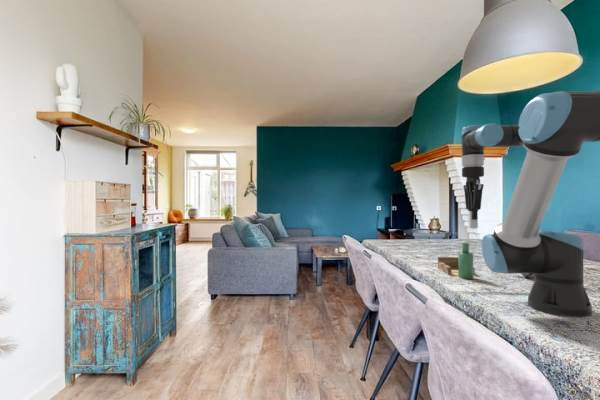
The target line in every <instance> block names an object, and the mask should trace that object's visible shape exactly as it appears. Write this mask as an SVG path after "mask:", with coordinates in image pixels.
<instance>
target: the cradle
mask: <svg viewBox="0 0 600 400" xmlns="http://www.w3.org/2000/svg"><path fill="white" fill-rule="evenodd" d="M437 269H438V270H440V271H441V272H443V273H444V274H445V275H447V276H449V277H450V278H452V279H455V280H457V279H459V280H463V279H462V278H459V272H458V256H457V257H454V256H438V257H437ZM475 269H476V268H475V267H474V266H473V279H472V280H482V277H479V276H478V275H476V272H475Z"/></svg>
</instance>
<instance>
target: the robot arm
mask: <svg viewBox="0 0 600 400" xmlns="http://www.w3.org/2000/svg"><path fill="white" fill-rule="evenodd" d="M460 138H461V167H462V168H461V177H462V178H466V180H465V181H466V182H465V184H464V185H463V186H462V189H463V192H464V200H465V210H467V211H468V228H469V229H478V228H479V223H478V222H479V220H478V219H479V218H478V215H479V213H478V212H479V210H481V209H482V199H483V197H482V196H483V189H484V184H483V183H481V179H480V178H481V177H484V176H485V167H484V165H485V162H484V161H486V160H485V159H486V158H485V157H484V156H485V153H484V152H485V149H486V148H509V147H511V148H513V147H516V148H520V147H523V148H524V149H525V150H526V154H525V158H524V160H523V164H522V165H521V166H522V167H521V169H520V172H519V176H518V179H517V181H516V184H515V188H514V191H513V193H512V196H511V199H510V203H509V206H508V208H507V211H506V215H505V216H504V220H503V222H500V223H498V224H497V225H496V226H495V228H494V231H493V234H490V233H488V234H485V235H484V236H483V237H482V239H481V252H482V257H483V261H484V262H485V265H486V266H487V268H488V269H489V270H490V271H491V272H492V273H497V274H506V275H507V274H521V273H535V276H534V281H533V284H532V286H531V288H530V291H529V294H528V297H527V304H528V306H529V307H531V308H532V309H534V310H537V311H541V312H543V313H547V314H552V315H559V316H566V317H588V316H591V315H592V313H593V310H592V309H593V306H592V303H591V301H590V298H589V296H588V293H587V291H586V289H585V286H584V252H585V249H584V242H583V238H582V237H581V236H580V235H577V234H572V233H568V232H567V233H565V232H564V233H563V232H557V231H549V230H541V229H540V228H541V225H542V222H543V220H544V217H545V214H546V212H547V210H548V208H549V206H550V203H551V200H552V199H553V196H554V194H555V192H556V189H557V186H558V184H559V182H560V179H561V177H562V175H563V172H564V169H565V167H566V165H567V162H568V160H569V159H571V158H574V157H576V156H577V155H579V154H580V151H581V149H582V146H583V144H584V143H588V142H589V143H590V142H593V143H595V142H600V90H591V91H589V90H586V91H562V90H560V91H554V92H546V93H541V94H539V95H537V96H535V97H534V98H532V99H531V100H530V101H529V102H528V103H526V105H525V107H524V108H523V109H522V112H521V114H520V116H519V120H518V124H513V125H512V124H507V125H503V124H502V125H500V124H497V123H487V124H486V123H485V124H484V125H481V124H474V125H473V124H472V125H467V126H464V127H462V130H461V136H460Z"/></svg>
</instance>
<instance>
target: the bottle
mask: <svg viewBox="0 0 600 400" xmlns="http://www.w3.org/2000/svg"><path fill="white" fill-rule="evenodd" d="M461 246H462V247H461V250H462V251H460V252H459V251H458V254H457V257H458V272H459V278H462V279H461V280H474V279H473V267H474V253H473V252H470V240H469V241H468V240H461Z"/></svg>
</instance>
